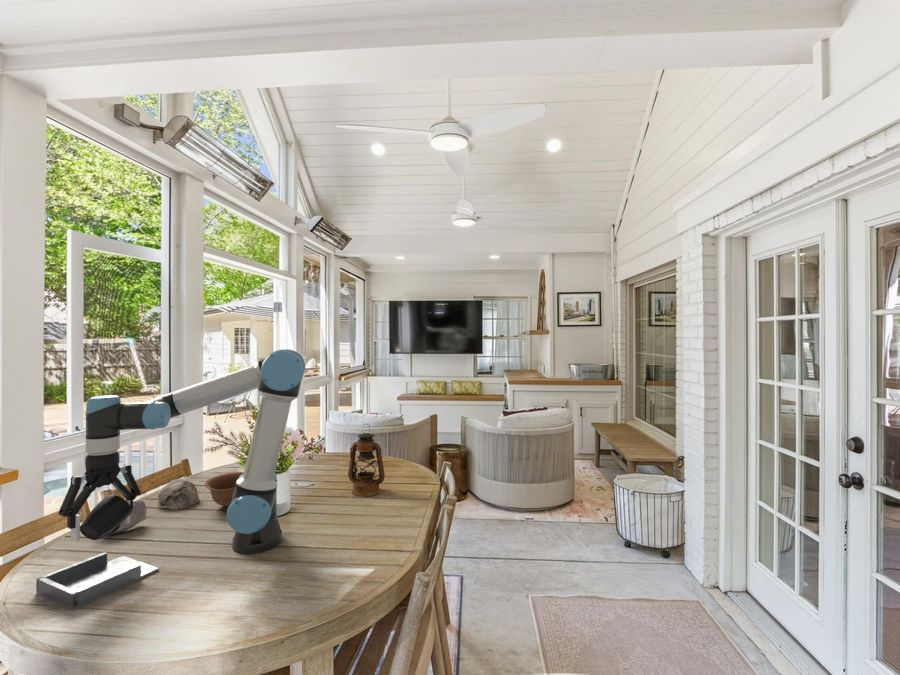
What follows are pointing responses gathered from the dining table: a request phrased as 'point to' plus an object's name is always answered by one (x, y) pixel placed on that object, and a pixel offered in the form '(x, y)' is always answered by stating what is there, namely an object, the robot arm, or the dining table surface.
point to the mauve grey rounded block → (134, 516)
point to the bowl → (223, 488)
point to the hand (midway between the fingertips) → (101, 530)
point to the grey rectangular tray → (91, 580)
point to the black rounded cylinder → (105, 517)
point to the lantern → (366, 479)
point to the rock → (178, 495)
